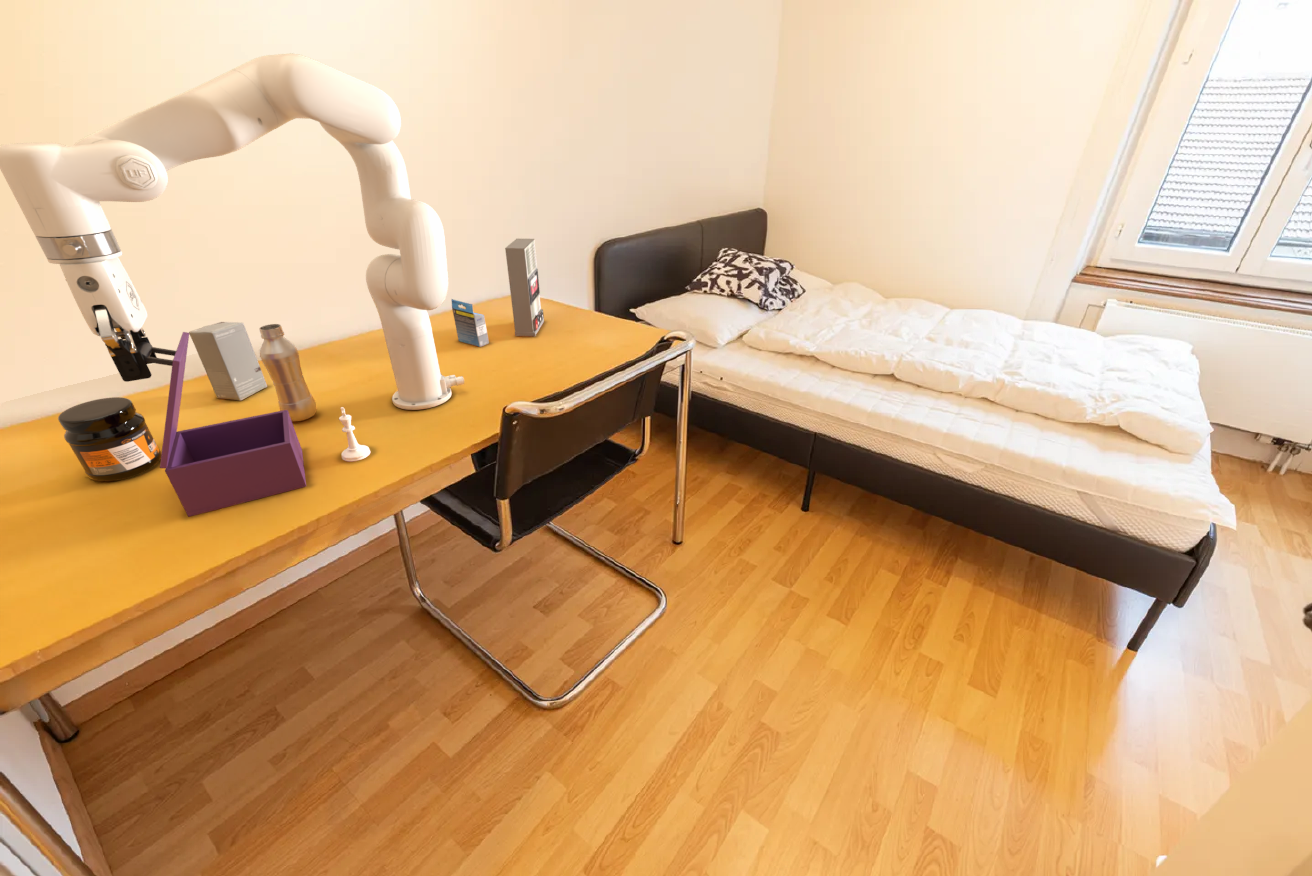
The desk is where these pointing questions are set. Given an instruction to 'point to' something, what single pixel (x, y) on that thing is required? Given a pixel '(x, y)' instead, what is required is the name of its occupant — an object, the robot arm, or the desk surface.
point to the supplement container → (110, 439)
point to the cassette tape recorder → (524, 287)
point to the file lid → (174, 389)
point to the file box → (235, 462)
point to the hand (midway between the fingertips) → (141, 370)
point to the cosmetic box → (229, 360)
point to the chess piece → (352, 441)
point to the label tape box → (469, 324)
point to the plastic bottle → (286, 373)
